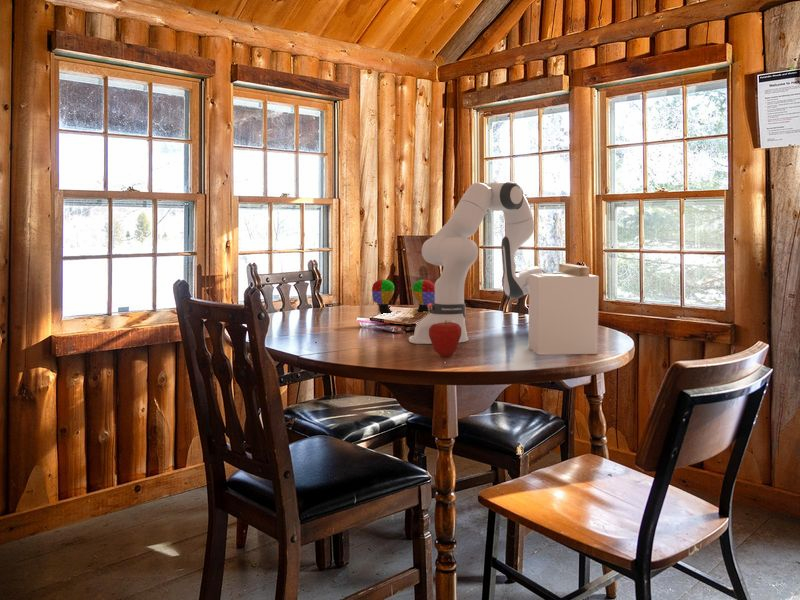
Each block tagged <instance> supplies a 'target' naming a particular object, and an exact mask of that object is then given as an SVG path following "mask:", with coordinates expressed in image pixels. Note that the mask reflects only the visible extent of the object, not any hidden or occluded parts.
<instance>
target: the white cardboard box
mask: <svg viewBox="0 0 800 600" xmlns="http://www.w3.org/2000/svg"><path fill="white" fill-rule="evenodd" d="M599 287H600V276H599V275H595V274H590V273H589V276H581V277H579V276H574V275H570V274H565V273H552V272H549V273H548V272H547V273H540V274H529V294H528V349H530V350H531V351H532V352H534V353H535V354H536V355H539V356H540V355H541V356H543V355H544V356H546V355H548V356H549V355H551V356H552V355H597V354H598V346H599V345H598V336H599V293H600V292H599V291H600V290H599Z"/></svg>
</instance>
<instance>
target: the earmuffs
mask: <svg viewBox="0 0 800 600" xmlns="http://www.w3.org/2000/svg"><path fill="white" fill-rule="evenodd" d="M394 284H395V283H393V282H392V281H391V280H388V279H385V278H383V279H378V280H375V282H373V284H372V285H371V286H372V287H371V294H372V301H373V302H374V303H377V304H378V309H379V313H380V315H381V314H383V313H391V312H393V311H392V310H391V308H390V306H389V301H391V299H392V298H393V296H394V293H395V285H394ZM412 293H413V296H414V297H415V299H416V300H417V302H418V305H419V306H418V308H417V310H416V311H418V312H423V311H428V312H429V308H428V305H429V303H431V304H433V303H435V283H434V282H432V281H431V280H429V279H419V280H417V281H416V282H414V284H413V285H412Z"/></svg>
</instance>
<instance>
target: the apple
mask: <svg viewBox="0 0 800 600" xmlns="http://www.w3.org/2000/svg"><path fill="white" fill-rule="evenodd" d="M429 337H430V340H431V342H432V344H431V345H432V347H433V349H434V352H435V353H437V354H438V355H439V356H440V357H445V358H447V357H451V356H453V355H454V353H455V352H456V350H457V347H458V345H459V340H460V337H461V327H460V326H459V324H457V323H452V322H446V321H445V323H437V324H433V325H432V326H431V327H430V328H429Z"/></svg>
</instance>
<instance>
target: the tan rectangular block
mask: <svg viewBox="0 0 800 600" xmlns="http://www.w3.org/2000/svg"><path fill="white" fill-rule="evenodd" d="M590 268H591V267H589V266H584V265H579V264H572V263H558V272H559V273H560V274H565V273H566V274H570V275H574V276H579V277H581V276H589V274H590Z"/></svg>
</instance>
